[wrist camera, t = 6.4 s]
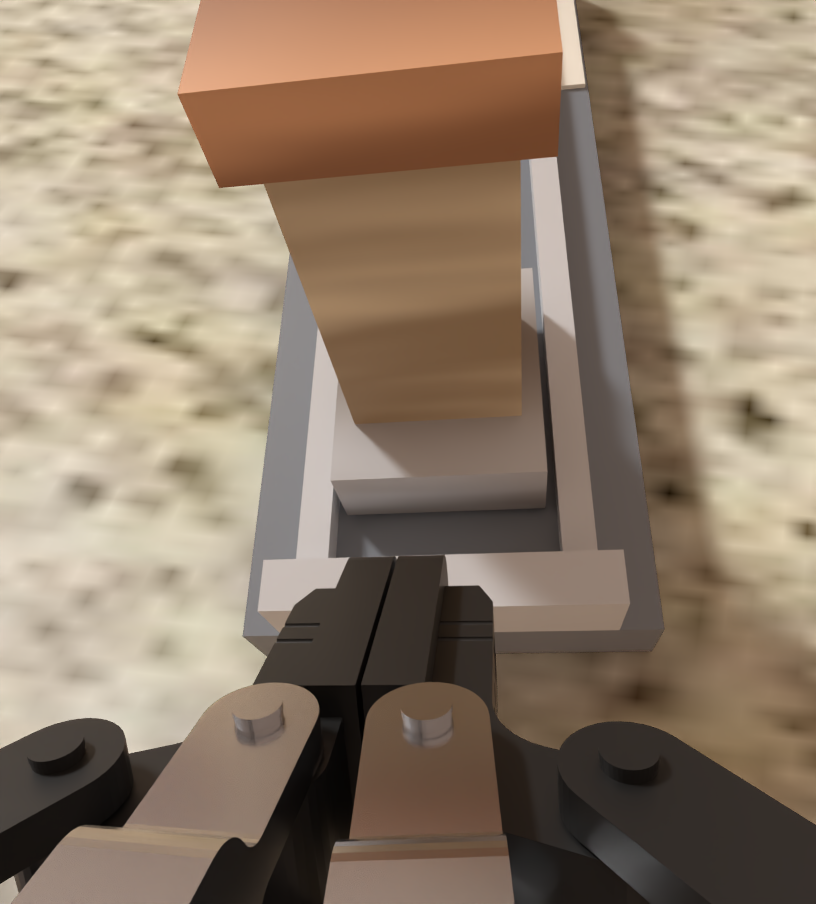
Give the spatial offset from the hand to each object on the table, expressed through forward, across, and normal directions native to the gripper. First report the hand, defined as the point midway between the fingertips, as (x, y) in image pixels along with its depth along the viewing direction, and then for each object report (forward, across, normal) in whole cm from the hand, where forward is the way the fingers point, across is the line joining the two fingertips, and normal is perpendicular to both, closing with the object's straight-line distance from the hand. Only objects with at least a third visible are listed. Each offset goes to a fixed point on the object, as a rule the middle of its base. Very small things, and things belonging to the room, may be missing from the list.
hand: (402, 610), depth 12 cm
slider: (+10, 0, -1) cm, 10 cm away
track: (+17, 0, -5) cm, 18 cm away
